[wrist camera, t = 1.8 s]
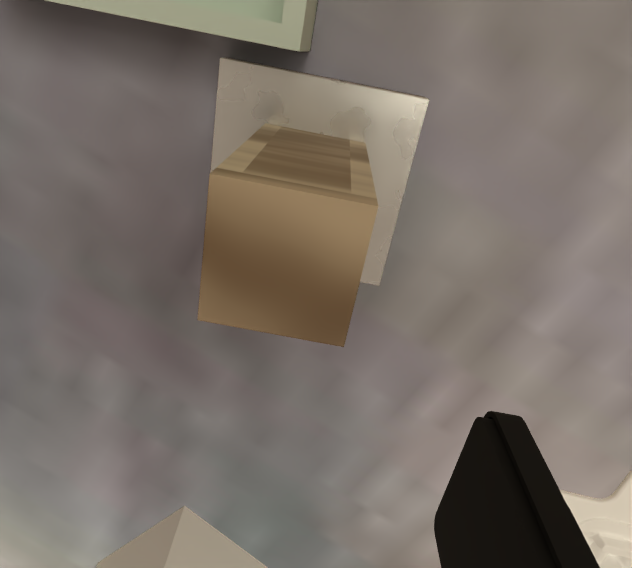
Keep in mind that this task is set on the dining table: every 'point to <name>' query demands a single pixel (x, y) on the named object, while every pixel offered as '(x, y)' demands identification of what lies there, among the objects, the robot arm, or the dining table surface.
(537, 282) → the dining table surface
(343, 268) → the strut
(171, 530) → the milk
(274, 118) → the stud plate
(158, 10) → the bin
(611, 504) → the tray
